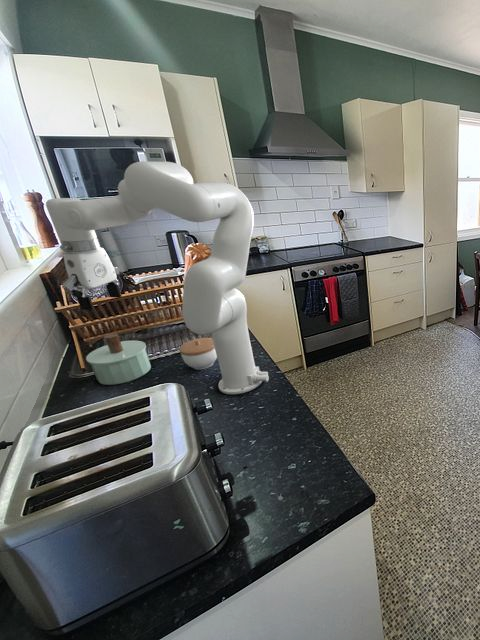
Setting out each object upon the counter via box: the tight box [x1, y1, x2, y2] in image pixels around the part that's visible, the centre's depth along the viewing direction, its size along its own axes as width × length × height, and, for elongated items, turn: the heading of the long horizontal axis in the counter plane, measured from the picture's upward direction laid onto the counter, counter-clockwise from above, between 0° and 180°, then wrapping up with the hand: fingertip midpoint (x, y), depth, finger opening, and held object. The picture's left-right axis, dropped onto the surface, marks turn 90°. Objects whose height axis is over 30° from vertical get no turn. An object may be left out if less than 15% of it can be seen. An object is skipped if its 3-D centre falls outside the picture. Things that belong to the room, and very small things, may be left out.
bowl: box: [89, 349, 152, 386], centre depth 112 cm, size 14×14×8 cm
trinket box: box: [178, 337, 218, 371], centre depth 117 cm, size 11×11×9 cm
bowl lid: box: [85, 333, 147, 365], centre depth 109 cm, size 15×15×7 cm
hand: (102, 303), depth 103 cm, fingers open, 9 cm apart
